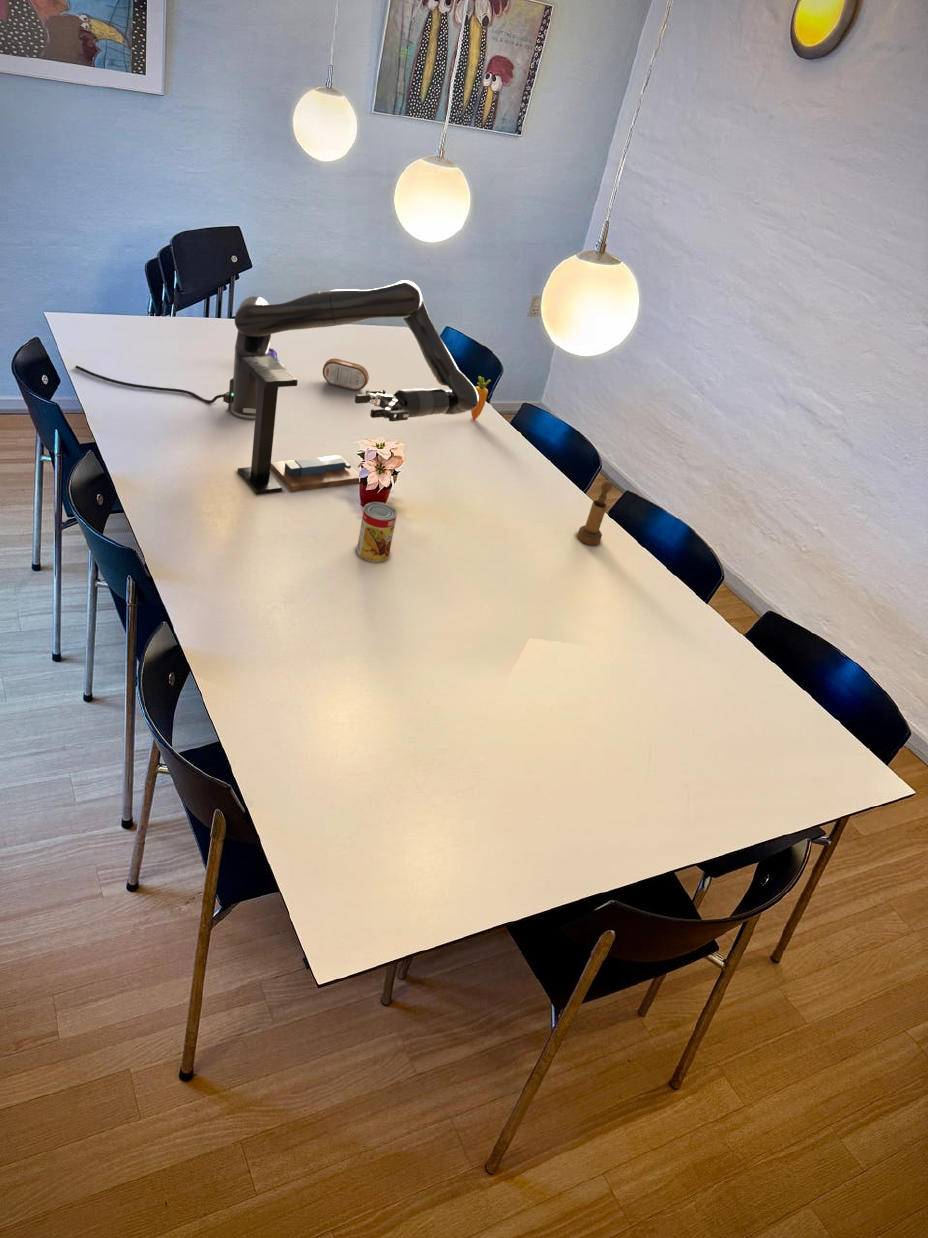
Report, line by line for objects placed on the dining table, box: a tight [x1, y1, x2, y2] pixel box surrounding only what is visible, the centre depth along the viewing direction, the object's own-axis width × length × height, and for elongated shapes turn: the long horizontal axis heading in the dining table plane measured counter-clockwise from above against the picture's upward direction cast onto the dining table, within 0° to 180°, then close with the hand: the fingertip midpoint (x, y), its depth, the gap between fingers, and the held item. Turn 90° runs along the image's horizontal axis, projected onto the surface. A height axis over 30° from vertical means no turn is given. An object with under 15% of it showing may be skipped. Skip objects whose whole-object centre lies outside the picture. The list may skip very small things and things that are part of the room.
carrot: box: [470, 375, 491, 421], centre depth 287 cm, size 5×5×15 cm
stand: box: [237, 356, 299, 496], centre depth 221 cm, size 8×14×31 cm, turn 36°
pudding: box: [268, 347, 286, 369], centre depth 289 cm, size 12×12×5 cm
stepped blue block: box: [284, 457, 352, 477], centre depth 238 cm, size 18×4×3 cm, turn 127°
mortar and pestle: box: [576, 480, 613, 546], centre depth 238 cm, size 7×6×18 cm
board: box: [270, 454, 360, 492], centre depth 239 cm, size 21×13×2 cm, turn 126°
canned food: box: [356, 501, 398, 563], centre depth 211 cm, size 8×8×12 cm
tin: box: [322, 358, 370, 392], centre depth 288 cm, size 15×3×8 cm, turn 84°
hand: (363, 406), depth 235 cm, fingers open, 8 cm apart
